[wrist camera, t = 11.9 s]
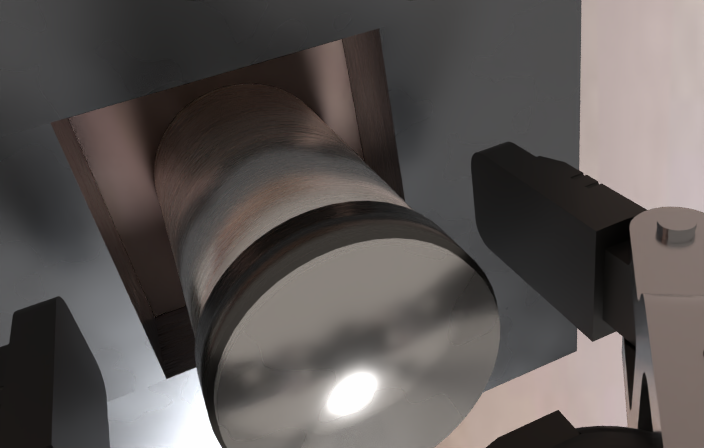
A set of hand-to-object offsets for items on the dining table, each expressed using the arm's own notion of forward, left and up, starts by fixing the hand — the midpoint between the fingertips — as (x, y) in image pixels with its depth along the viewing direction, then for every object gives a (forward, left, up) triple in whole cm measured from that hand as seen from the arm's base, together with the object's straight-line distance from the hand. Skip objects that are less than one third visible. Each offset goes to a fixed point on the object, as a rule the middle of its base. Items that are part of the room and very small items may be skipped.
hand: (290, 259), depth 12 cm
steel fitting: (0, 0, -4) cm, 4 cm away
